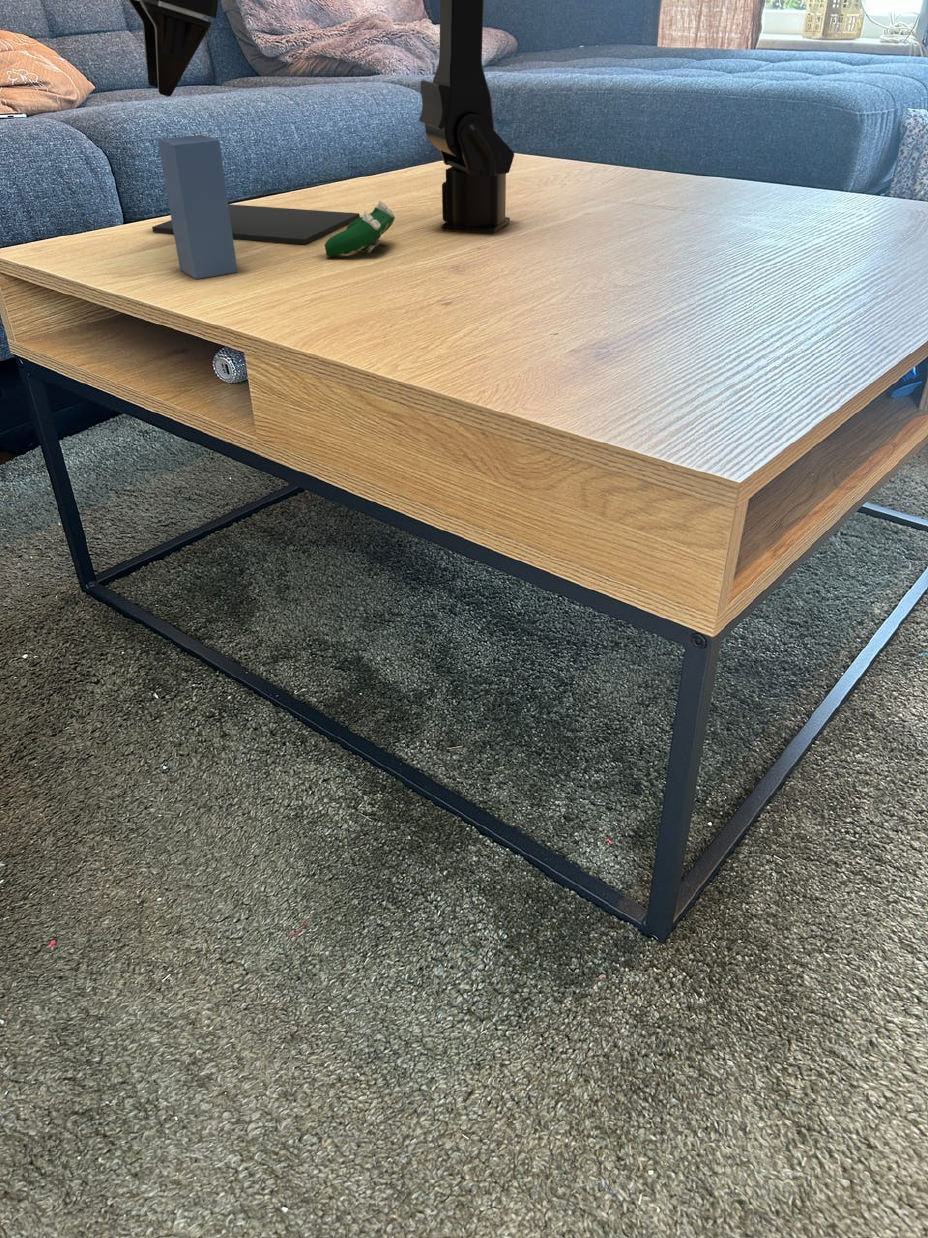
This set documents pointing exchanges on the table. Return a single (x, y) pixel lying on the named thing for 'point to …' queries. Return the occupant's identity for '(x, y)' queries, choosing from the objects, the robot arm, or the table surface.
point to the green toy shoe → (361, 232)
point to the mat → (278, 223)
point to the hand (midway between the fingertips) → (158, 90)
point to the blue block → (198, 205)
